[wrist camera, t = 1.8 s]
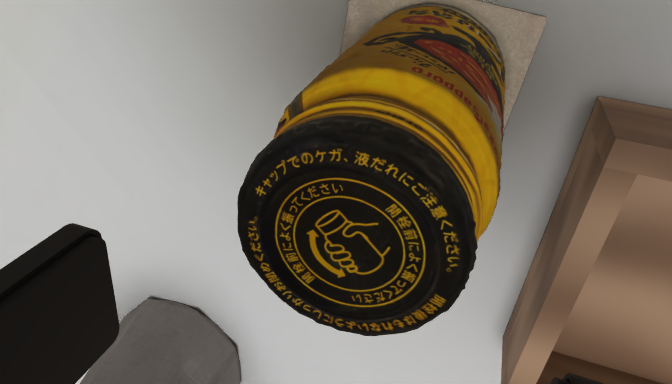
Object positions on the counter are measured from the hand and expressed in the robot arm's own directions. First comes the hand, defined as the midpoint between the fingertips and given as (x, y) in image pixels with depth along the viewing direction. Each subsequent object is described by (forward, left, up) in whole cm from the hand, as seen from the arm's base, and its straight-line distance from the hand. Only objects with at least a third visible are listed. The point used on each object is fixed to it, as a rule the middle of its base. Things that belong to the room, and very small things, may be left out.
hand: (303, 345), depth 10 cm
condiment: (-1, 0, -14) cm, 14 cm away
